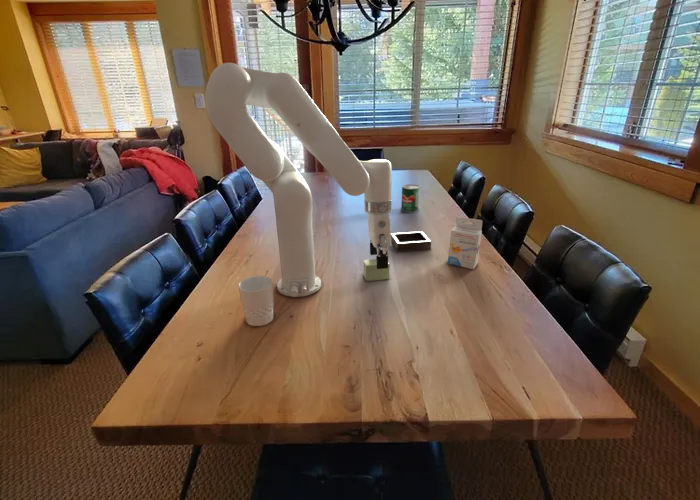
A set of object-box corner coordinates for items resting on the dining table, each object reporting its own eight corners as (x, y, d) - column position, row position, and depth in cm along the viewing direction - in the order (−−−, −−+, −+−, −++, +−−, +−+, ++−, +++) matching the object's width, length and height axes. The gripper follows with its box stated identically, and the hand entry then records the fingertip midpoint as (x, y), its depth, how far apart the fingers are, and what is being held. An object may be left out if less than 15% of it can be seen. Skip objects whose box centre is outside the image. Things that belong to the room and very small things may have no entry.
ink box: (447, 264, 119) (451, 220, 114) (451, 258, 123) (455, 216, 118) (474, 269, 116) (480, 225, 110) (477, 263, 120) (483, 220, 114)
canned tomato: (417, 207, 176) (419, 184, 172) (418, 212, 169) (420, 188, 165) (400, 207, 177) (401, 184, 173) (401, 212, 170) (402, 188, 166)
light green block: (389, 279, 111) (389, 263, 109) (366, 281, 110) (366, 265, 108) (386, 273, 115) (386, 258, 113) (363, 274, 114) (363, 259, 112)
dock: (430, 249, 131) (431, 241, 129) (397, 251, 129) (397, 243, 128) (421, 239, 140) (422, 231, 138) (390, 241, 138) (390, 233, 137)
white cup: (262, 306, 98) (258, 272, 94) (282, 317, 93) (279, 281, 89) (237, 320, 92) (231, 284, 88) (257, 332, 88) (252, 295, 84)
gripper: (399, 213, 96) (398, 272, 103) (384, 196, 112) (384, 248, 119) (370, 216, 95) (371, 275, 102) (359, 198, 111) (361, 250, 118)
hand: (378, 261), depth 110 cm, fingers open, 9 cm apart
